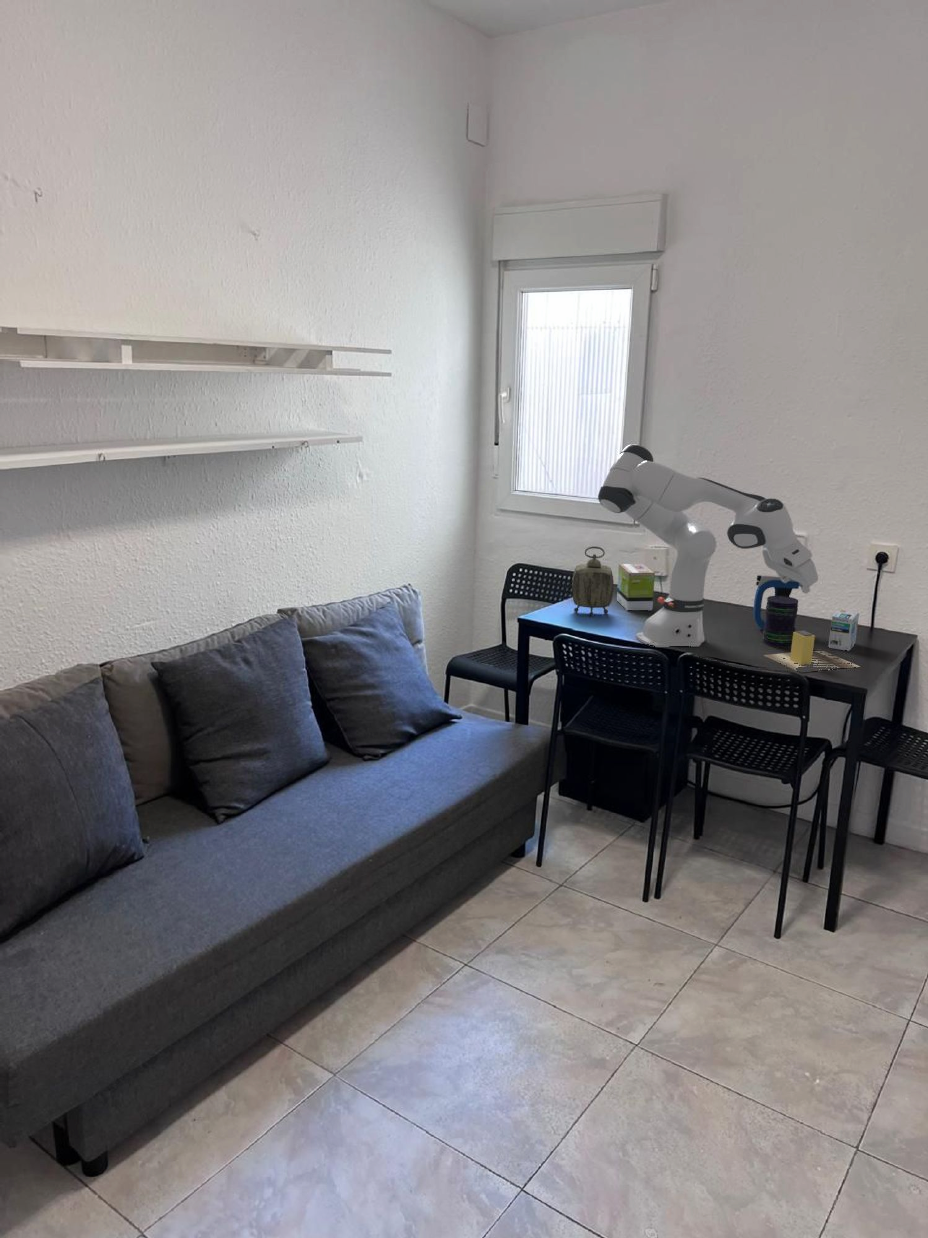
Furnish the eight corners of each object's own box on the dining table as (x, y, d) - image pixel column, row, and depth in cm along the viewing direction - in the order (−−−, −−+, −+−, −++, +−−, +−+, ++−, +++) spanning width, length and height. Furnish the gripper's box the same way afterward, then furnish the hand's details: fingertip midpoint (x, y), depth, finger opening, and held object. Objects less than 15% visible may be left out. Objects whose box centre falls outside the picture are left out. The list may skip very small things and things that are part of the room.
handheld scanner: (801, 634, 319) (807, 577, 315) (752, 630, 322) (757, 574, 318) (799, 631, 324) (805, 575, 319) (750, 627, 327) (756, 572, 322)
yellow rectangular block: (800, 664, 287) (804, 635, 284) (789, 660, 291) (793, 630, 289) (811, 663, 288) (815, 634, 285) (800, 659, 292) (804, 630, 290)
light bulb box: (849, 651, 302) (853, 619, 299) (827, 648, 305) (831, 616, 302) (855, 643, 310) (859, 612, 308) (834, 640, 314) (838, 609, 311)
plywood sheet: (800, 673, 279) (801, 673, 279) (763, 655, 295) (763, 655, 295) (860, 667, 286) (860, 666, 286) (820, 649, 303) (820, 649, 303)
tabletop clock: (610, 612, 342) (615, 545, 335) (611, 619, 333) (616, 550, 326) (570, 610, 343) (574, 543, 336) (570, 617, 334) (574, 548, 328)
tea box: (615, 600, 359) (618, 563, 355) (641, 600, 360) (644, 563, 356) (626, 611, 345) (629, 571, 341) (653, 611, 346) (656, 571, 342)
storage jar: (799, 646, 306) (805, 602, 302) (773, 648, 303) (778, 603, 299) (781, 638, 315) (786, 594, 311) (756, 640, 312) (760, 596, 308)
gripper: (753, 544, 281) (765, 581, 288) (797, 565, 263) (809, 603, 270) (769, 533, 282) (782, 570, 288) (815, 553, 264) (827, 592, 270)
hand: (796, 586), depth 279 cm, fingers open, 8 cm apart
